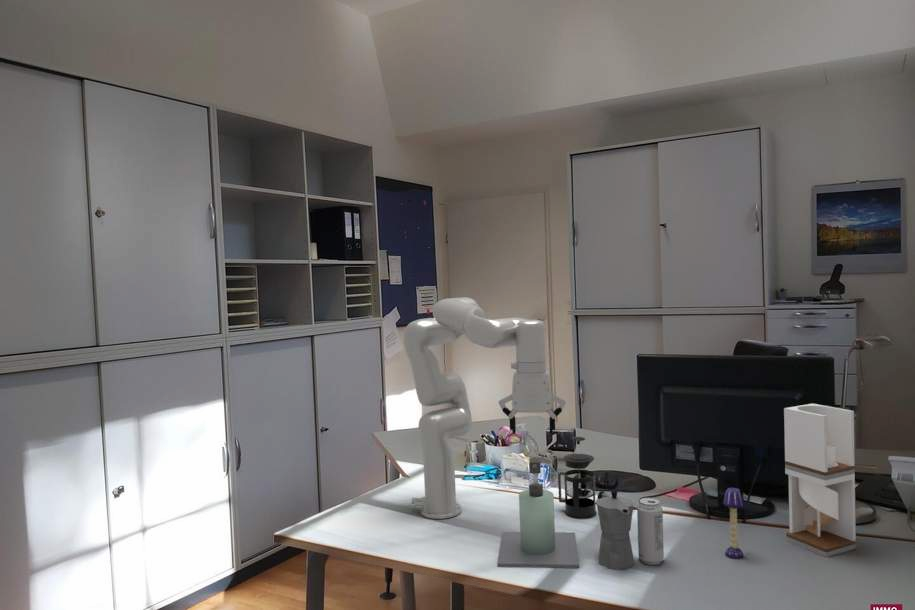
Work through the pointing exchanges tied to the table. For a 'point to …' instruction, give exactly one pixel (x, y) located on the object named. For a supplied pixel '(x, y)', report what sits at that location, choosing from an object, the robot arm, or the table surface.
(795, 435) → the white architectural model
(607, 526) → the coffeepot
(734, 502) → the toy lamp
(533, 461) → the pump head
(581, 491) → the french press
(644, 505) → the energy drink can
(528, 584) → the table surface
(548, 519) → the dispenser bottle
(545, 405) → the robot arm
